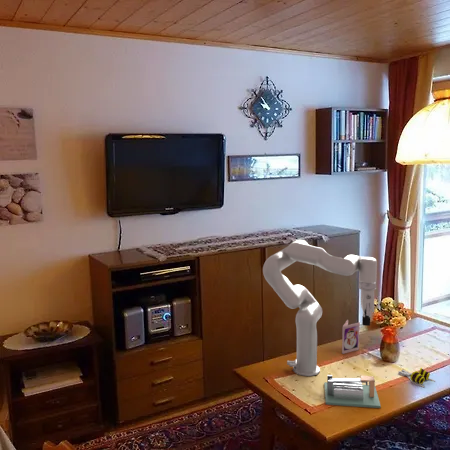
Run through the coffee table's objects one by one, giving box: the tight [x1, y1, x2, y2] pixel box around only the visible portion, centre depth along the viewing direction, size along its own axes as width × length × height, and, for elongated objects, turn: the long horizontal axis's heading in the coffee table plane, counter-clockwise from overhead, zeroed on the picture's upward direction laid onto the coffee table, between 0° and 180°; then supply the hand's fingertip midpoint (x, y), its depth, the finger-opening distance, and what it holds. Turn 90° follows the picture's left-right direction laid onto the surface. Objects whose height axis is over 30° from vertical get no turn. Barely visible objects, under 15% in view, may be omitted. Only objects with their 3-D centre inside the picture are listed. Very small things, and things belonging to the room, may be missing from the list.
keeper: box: [359, 375, 376, 397], centre depth 214 cm, size 6×4×7 cm
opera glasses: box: [409, 367, 431, 385], centre depth 229 cm, size 10×5×5 cm, turn 133°
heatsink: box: [326, 374, 363, 400], centre depth 216 cm, size 14×10×6 cm
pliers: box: [398, 369, 436, 388], centre depth 231 cm, size 10×2×15 cm
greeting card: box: [341, 319, 361, 354], centre depth 263 cm, size 11×7×15 cm, turn 118°
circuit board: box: [323, 381, 381, 409], centre depth 216 cm, size 22×18×1 cm
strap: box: [329, 377, 369, 386], centre depth 215 cm, size 16×3×2 cm, turn 81°
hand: (366, 324), depth 224 cm, fingers closed
